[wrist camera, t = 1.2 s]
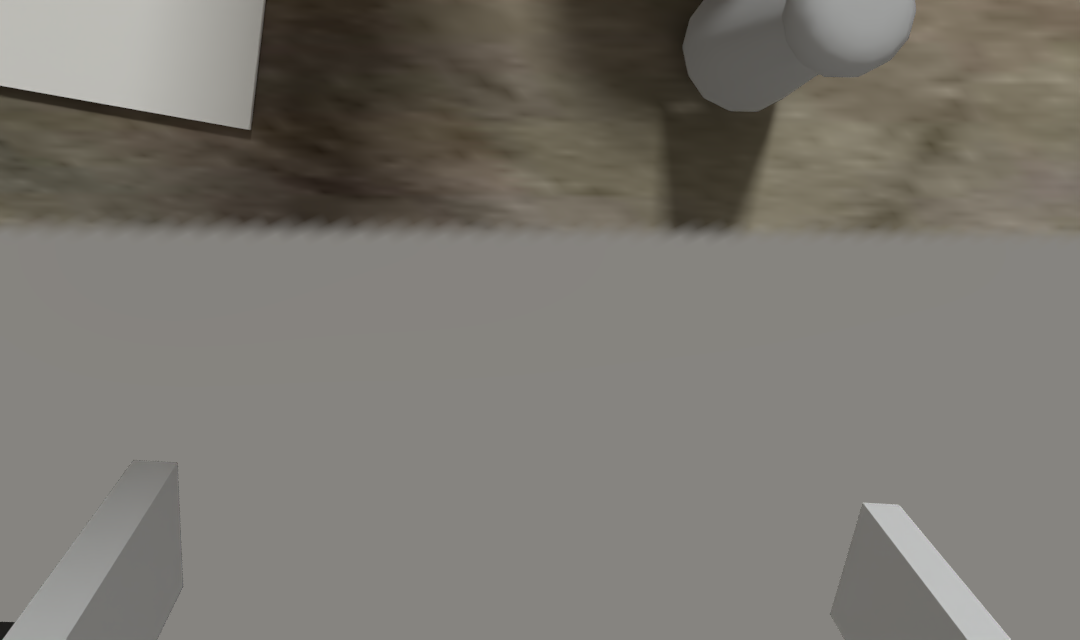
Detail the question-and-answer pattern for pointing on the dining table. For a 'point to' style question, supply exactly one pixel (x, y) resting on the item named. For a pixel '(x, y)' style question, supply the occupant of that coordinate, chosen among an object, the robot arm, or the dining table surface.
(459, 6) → the dining table surface
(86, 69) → the mat
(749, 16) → the salt shaker
